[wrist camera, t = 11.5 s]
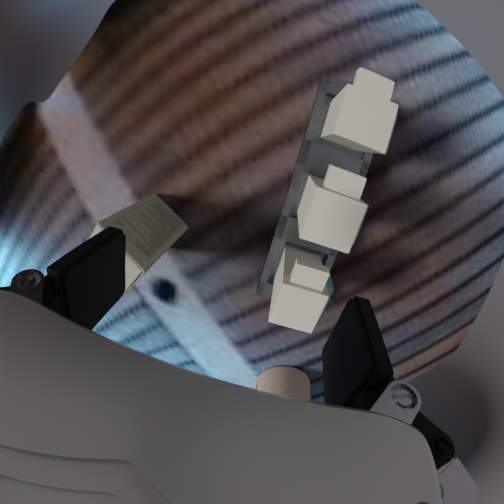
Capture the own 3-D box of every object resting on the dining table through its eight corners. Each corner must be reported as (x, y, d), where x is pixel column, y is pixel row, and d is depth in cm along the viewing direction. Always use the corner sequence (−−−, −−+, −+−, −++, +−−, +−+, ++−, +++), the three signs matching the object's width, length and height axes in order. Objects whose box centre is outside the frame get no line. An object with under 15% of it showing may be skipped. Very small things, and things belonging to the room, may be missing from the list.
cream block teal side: (334, 86, 23) (353, 62, 15) (378, 103, 23) (412, 89, 15) (319, 137, 25) (333, 133, 17) (363, 153, 25) (394, 158, 17)
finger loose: (290, 228, 29) (289, 263, 21) (332, 242, 29) (346, 280, 21) (274, 275, 32) (268, 321, 23) (314, 286, 31) (319, 335, 23)
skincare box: (137, 215, 33) (77, 250, 22) (156, 191, 32) (95, 219, 21) (171, 250, 35) (122, 298, 23) (191, 228, 33) (144, 272, 22)
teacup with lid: (245, 373, 41) (231, 432, 30) (297, 356, 38) (295, 420, 28) (279, 411, 44) (273, 464, 33) (325, 398, 41) (328, 454, 31)
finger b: (313, 157, 26) (324, 162, 18) (357, 173, 26) (385, 186, 18) (297, 210, 28) (299, 238, 20) (339, 224, 28) (357, 256, 20)
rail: (320, 80, 25) (323, 74, 22) (379, 103, 24) (388, 99, 22) (258, 281, 34) (255, 294, 32) (311, 297, 34) (312, 310, 32)
